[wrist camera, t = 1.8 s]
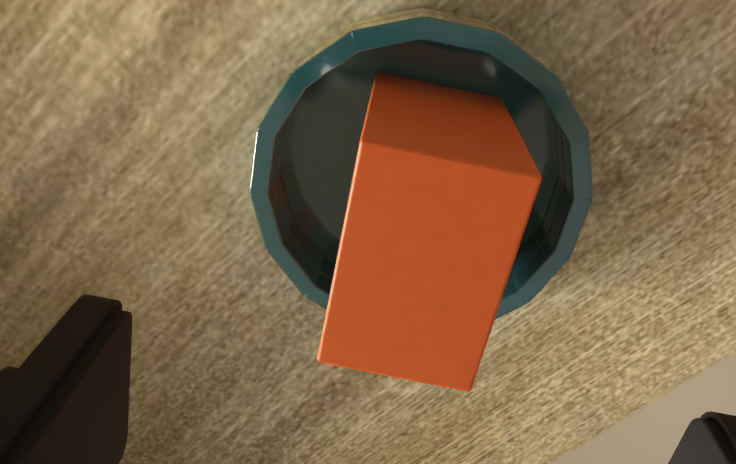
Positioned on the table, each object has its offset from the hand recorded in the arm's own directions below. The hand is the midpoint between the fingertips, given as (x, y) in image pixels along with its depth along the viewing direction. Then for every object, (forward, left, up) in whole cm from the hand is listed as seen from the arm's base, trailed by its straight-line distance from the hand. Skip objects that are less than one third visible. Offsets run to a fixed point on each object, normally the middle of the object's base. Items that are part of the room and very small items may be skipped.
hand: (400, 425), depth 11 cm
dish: (0, 0, -12) cm, 12 cm away
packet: (0, 0, -12) cm, 12 cm away
